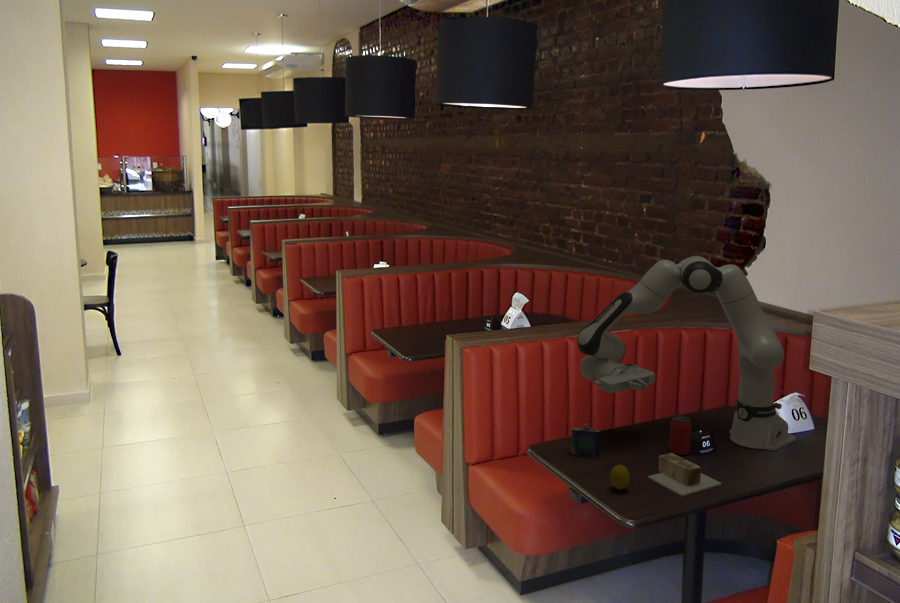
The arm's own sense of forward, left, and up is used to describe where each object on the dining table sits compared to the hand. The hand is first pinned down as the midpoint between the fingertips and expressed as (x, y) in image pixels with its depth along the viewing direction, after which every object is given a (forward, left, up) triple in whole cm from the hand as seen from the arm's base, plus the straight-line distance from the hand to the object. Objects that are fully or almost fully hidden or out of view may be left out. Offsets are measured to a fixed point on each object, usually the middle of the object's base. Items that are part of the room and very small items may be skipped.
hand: (643, 387), depth 232 cm
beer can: (-12, +6, -23) cm, 27 cm away
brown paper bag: (+3, +14, -20) cm, 24 cm away
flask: (+17, -7, -23) cm, 30 cm away
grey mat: (+3, +23, -23) cm, 32 cm away
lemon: (+24, +18, -23) cm, 38 cm away
